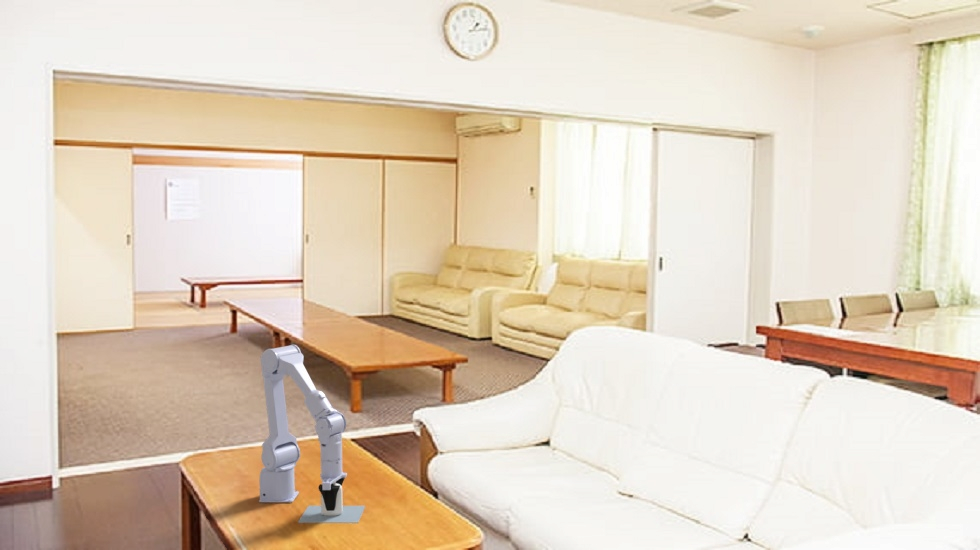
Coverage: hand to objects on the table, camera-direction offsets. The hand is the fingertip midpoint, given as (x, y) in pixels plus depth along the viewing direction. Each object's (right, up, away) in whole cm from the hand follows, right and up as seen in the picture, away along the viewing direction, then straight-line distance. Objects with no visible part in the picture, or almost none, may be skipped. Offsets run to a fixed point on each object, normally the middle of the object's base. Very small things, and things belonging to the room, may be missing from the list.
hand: (332, 506), depth 221 cm
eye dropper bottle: (0, -2, 0) cm, 2 cm away
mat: (0, -2, 0) cm, 2 cm away
